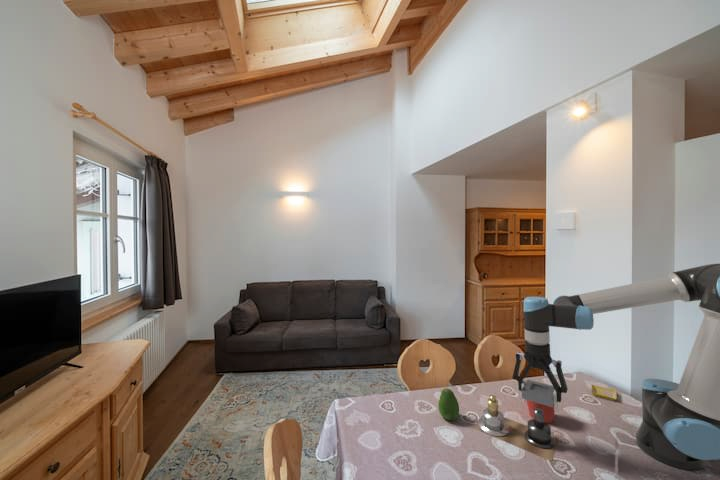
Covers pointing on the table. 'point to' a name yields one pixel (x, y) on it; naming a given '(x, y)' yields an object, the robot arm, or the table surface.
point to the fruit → (448, 405)
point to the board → (524, 439)
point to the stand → (539, 431)
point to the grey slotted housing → (538, 393)
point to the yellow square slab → (596, 392)
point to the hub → (493, 420)
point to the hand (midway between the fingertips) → (539, 404)
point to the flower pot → (547, 410)
